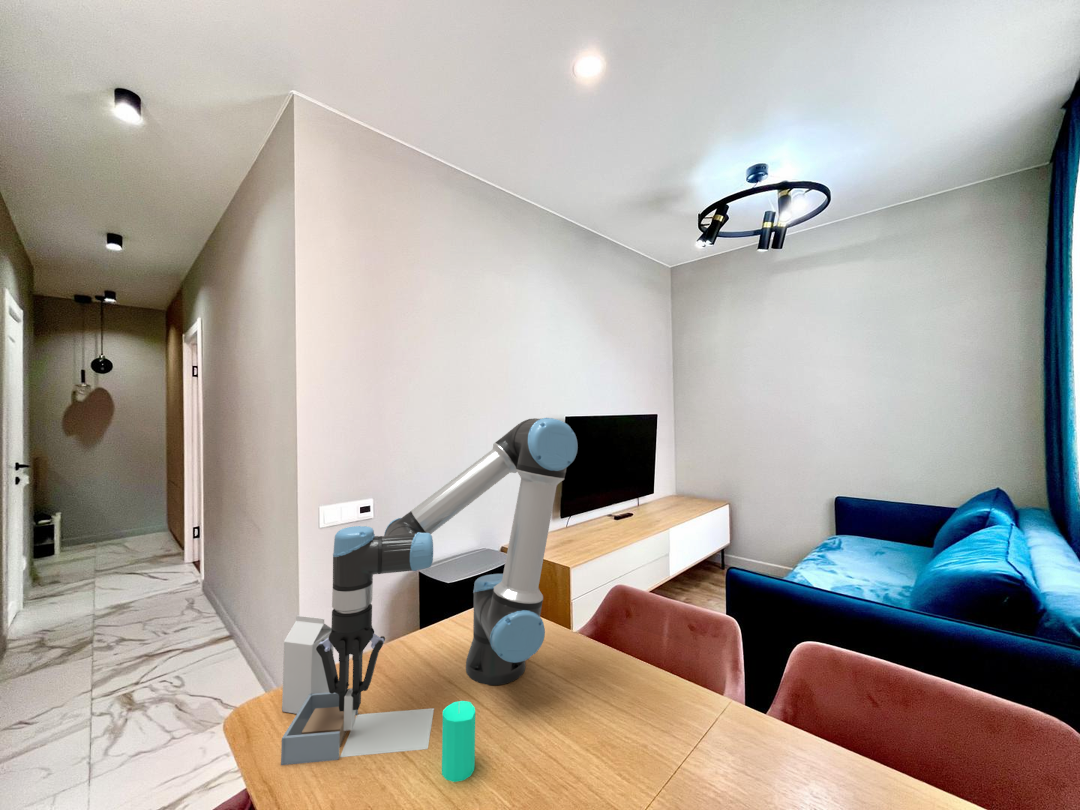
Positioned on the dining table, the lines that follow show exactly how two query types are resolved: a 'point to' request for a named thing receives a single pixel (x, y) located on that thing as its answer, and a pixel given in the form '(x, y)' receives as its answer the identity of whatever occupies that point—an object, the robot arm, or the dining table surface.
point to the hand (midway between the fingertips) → (349, 725)
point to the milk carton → (303, 662)
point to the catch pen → (314, 744)
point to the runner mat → (389, 732)
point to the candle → (458, 741)
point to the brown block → (326, 722)
